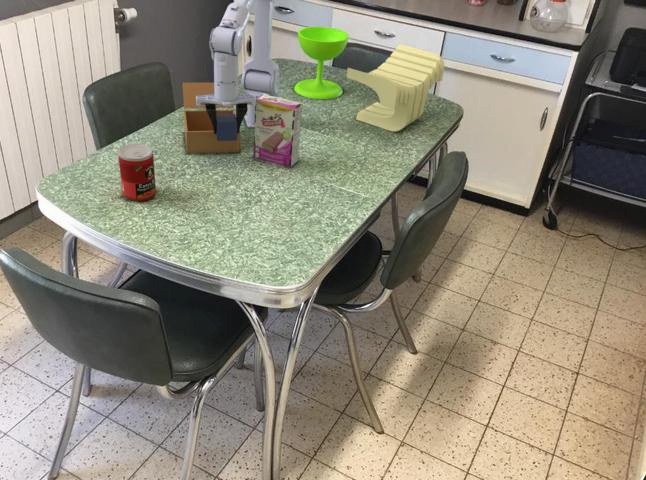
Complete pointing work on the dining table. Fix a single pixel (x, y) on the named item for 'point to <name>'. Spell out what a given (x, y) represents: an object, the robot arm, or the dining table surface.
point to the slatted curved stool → (400, 87)
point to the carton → (205, 133)
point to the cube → (226, 127)
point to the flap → (198, 94)
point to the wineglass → (321, 59)
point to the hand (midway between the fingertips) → (226, 132)
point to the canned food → (137, 171)
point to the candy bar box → (277, 129)
